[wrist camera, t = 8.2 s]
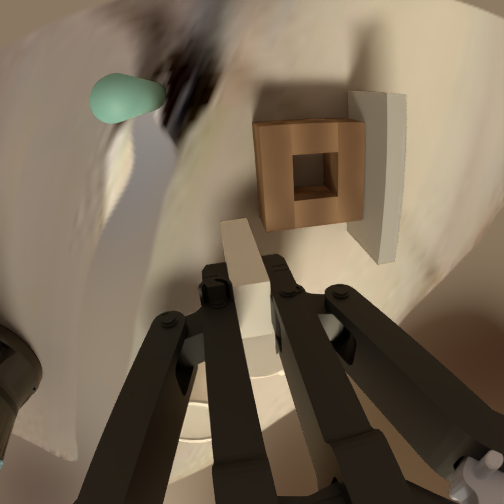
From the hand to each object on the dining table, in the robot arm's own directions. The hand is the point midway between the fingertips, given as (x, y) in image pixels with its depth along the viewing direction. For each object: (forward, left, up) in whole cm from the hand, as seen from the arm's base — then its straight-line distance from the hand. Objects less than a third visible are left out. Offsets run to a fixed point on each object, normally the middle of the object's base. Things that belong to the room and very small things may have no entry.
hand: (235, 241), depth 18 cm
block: (+8, 0, -15) cm, 17 cm away
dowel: (-6, +9, -15) cm, 19 cm away
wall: (+15, 0, -15) cm, 21 cm away
